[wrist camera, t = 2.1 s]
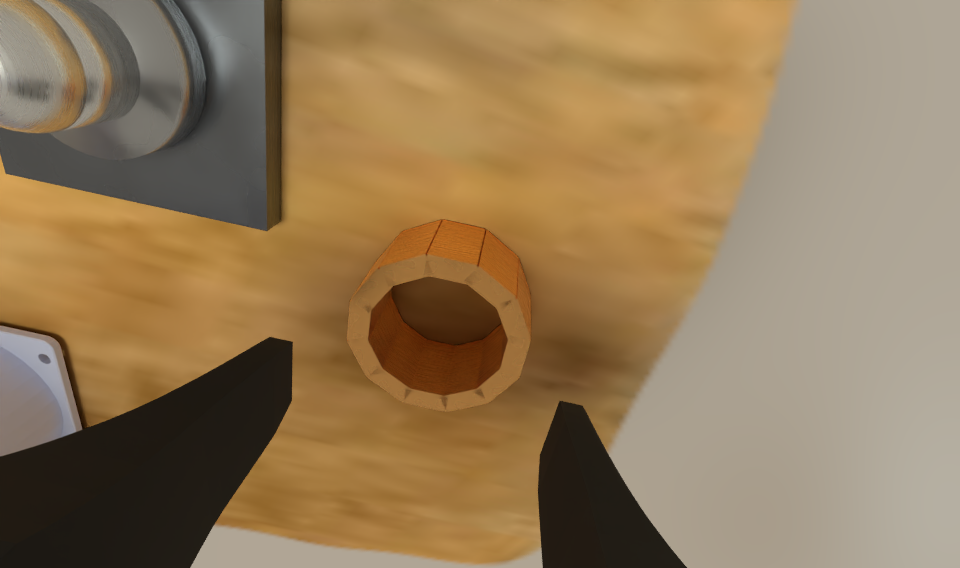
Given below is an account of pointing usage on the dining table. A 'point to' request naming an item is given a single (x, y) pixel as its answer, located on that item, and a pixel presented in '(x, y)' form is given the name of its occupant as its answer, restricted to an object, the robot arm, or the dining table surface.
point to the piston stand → (147, 102)
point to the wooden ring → (429, 364)
